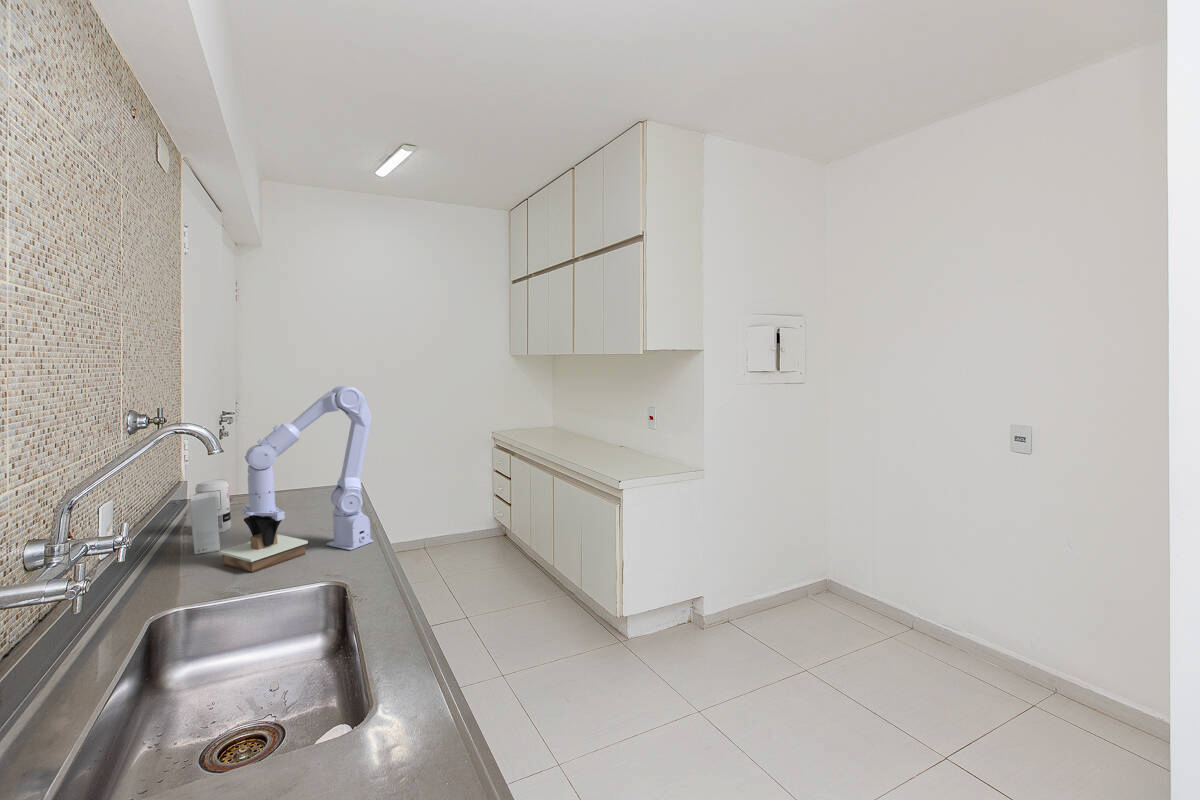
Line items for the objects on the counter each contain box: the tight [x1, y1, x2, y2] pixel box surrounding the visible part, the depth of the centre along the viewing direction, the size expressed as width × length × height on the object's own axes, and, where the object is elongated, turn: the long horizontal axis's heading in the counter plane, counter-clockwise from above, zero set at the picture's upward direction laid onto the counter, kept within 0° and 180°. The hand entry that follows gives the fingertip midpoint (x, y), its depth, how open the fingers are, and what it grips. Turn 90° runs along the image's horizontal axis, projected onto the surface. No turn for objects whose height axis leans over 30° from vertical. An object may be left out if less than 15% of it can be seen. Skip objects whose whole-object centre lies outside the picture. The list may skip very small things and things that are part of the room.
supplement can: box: [194, 478, 232, 534], centre depth 165 cm, size 8×8×15 cm
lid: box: [218, 531, 309, 562], centre depth 143 cm, size 13×15×4 cm
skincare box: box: [189, 492, 221, 555], centre depth 150 cm, size 8×6×15 cm
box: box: [221, 544, 306, 574], centre depth 143 cm, size 12×14×2 cm
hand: (264, 543), depth 143 cm, fingers closed on lid, 3 cm apart
